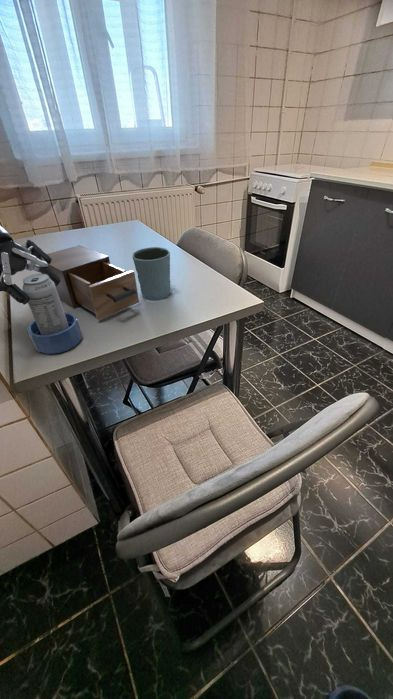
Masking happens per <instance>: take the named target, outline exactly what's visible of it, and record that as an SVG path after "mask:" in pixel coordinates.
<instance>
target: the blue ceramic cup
mask: <svg viewBox="0 0 393 699" xmlns="http://www.w3.org/2000/svg"><path fill="white" fill-rule="evenodd" d="M131 257H132V261H133V264H134V268H135V271H136V274H137V279H138V280H137V281H138V283H139V286H140V287H139V288H140V292H141V296H142V297H143V298H145V299H147V300H154V301H156V300H157V301H158V300H163V299H165V298H167V297H169V296H170V295H171V290H172V289H171V252H170V249H167V248H165V247H160V246H153V247H151V246H150V247H145V248H140V249H138V250H136V251H134V252H133V253H132V255H131Z"/></svg>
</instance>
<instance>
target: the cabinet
mask: <svg viewBox="0 0 393 699" xmlns="http://www.w3.org/2000/svg"><path fill="white" fill-rule="evenodd" d="M101 253H102V252H100V253H99V251H97V250H94V249H91V248H88V247H86V246H84V245H81V244H79V245H78V244H77V245H75V246H71V247H68V248H65V249H64V248H63V249H60V250H56V251H53V252H49V253H46V254H47V255H48V256H49V257H50V258H51V259H52V261H51V263H50V265H49V267H50V269H51V270H53V271H54V272H55V273H56V275H58V276H59V278H60V283H59V285H57V286H56V289H57V292H58V295H59V298H60V301H61V302H63V303H64V304H66V305H67V306H69V307H70V308H72V309H77V308H79V307H83V306H82V305H80V304H79V303H77V302H75V300H74V297H73V294H72V291H71V287H70V284H69V281H68V277H67V274H66V273H69V272H72V271H75V270H78V269H82V268H85V267H88V266H91V265H94V264H97V263H100V262H103V261H104V262H106V263H109V264H111V261H110V256H109V255H106V254H104V253H102V254H101ZM41 258H42V257H41ZM42 259H43V258H42Z"/></svg>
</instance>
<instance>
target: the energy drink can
mask: <svg viewBox="0 0 393 699" xmlns="http://www.w3.org/2000/svg"><path fill="white" fill-rule="evenodd" d="M22 283H23V285H22V289H21V290H22V291H23V292H25V293H26V294H27V295H28V296H29V298H30V300H29V302H28V303H27V304H28V306H29V310H30V312H31V314H32V316H33V318H34V320H35V321H36V324H37V326H38V328H39V331H40V333H41V335H51V334H56V333H59V332H61V331H64V330H66V329H67V328H69V325H68V322H67V319H66V316H65V313H64V312H65V310H64V307H63V304H62V301H61V300H60V298H59V295H58V292H57V289H56V286H55V284H54V282H53V281H52V280H51V279H50V278H49V276H48V275H47V274H42V273H35V274H31V275H27V276H26V277H24V278H23V279H22Z"/></svg>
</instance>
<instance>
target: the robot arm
mask: <svg viewBox="0 0 393 699" xmlns="http://www.w3.org/2000/svg"><path fill="white" fill-rule="evenodd" d="M47 254H48V253H47V252H45V251H44V250H43V248H41V247H40V246H39V245H37V244H36V243H35V242H34V241H33V240H32V239H27V240H26V242H25V243H24V244H21V245H20V244H18V243H16V241H14V239H13V237H12V235H11V234H10V233H9V232H8V231H7V230H6V229H5V228H4V227H3V226H2V225H1V224H0V292H5V293H7V294H8V295H9V296H10V297H12V299H14V300H15V301H16V302H17V303H18V304H22V305H27V304H28V302H29V300H30V298H29V296H28V295H27V294H26V293H25V292H23V290H22V289H21V288H20V287H19V285H17V284H16V283H13V280H12V276H15V275H16V274H17V273H19V272H22V271H25V270H26V271H30V272H31V271H35V272H37V273H39V274H47V275H48V276H49V278H50V279H51V280H52V281H53V282H54V284H55V286H57V285H59V283H60V278H59V276H58V275H56V273H55V272H54V271H53V270H51V269H50V267H49V265H50V263H51V261H52V259H51V258H50V257H49V256H48V255H47ZM41 257H42V258H43V259H42V258H41ZM28 261H29V262H28Z"/></svg>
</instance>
